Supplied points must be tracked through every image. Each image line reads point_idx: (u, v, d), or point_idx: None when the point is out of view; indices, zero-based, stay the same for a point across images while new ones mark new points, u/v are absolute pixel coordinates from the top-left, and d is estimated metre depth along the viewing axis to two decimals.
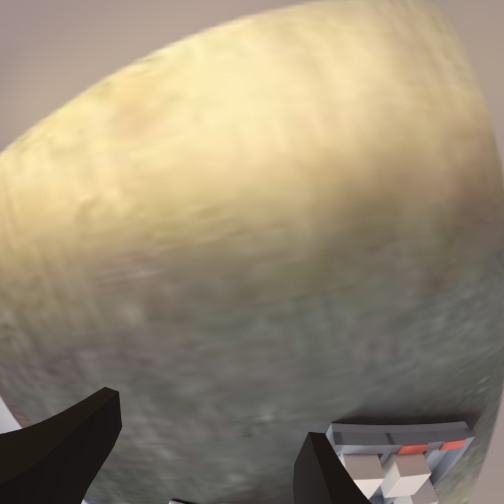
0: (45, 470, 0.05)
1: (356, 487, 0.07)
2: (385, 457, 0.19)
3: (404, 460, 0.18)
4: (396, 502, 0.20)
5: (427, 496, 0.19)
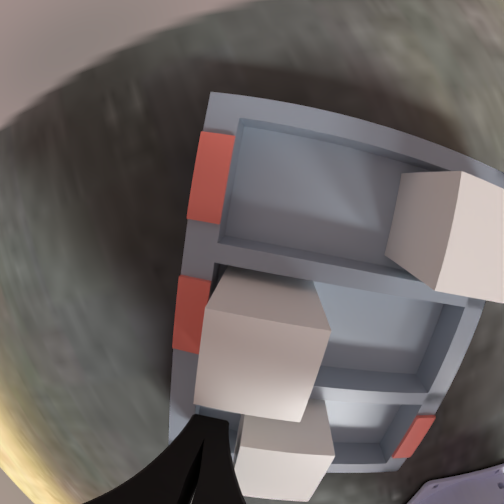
0: None
1: (233, 478, 0.07)
2: None
3: None
4: None
5: (435, 211, 0.07)
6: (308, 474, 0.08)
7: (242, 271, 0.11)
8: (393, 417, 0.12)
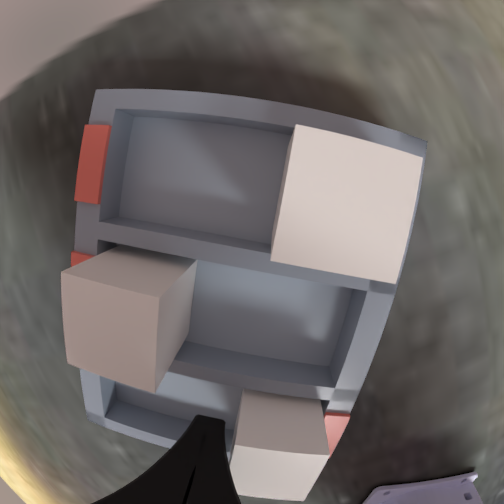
0: None
1: (228, 478, 0.07)
2: None
3: None
4: None
5: (285, 175, 0.07)
6: (303, 473, 0.08)
7: (129, 249, 0.11)
8: None
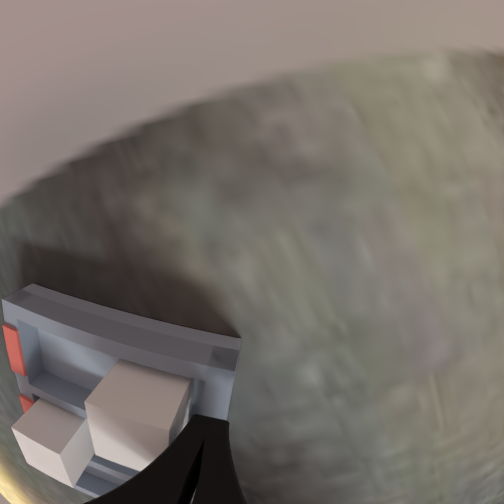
0: None
1: (233, 478, 0.07)
2: None
3: None
4: None
5: None
6: None
7: None
8: None
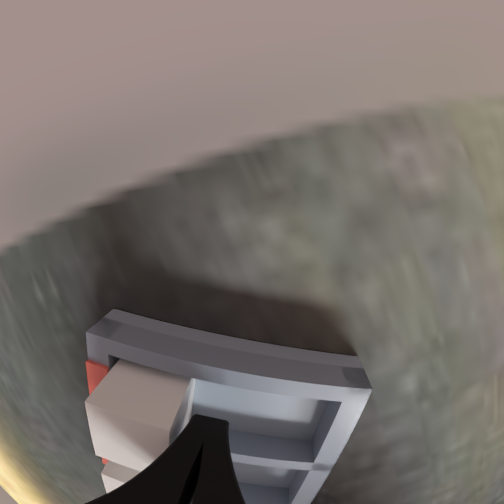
0: None
1: (232, 478, 0.07)
2: None
3: None
4: None
5: None
6: None
7: None
8: None
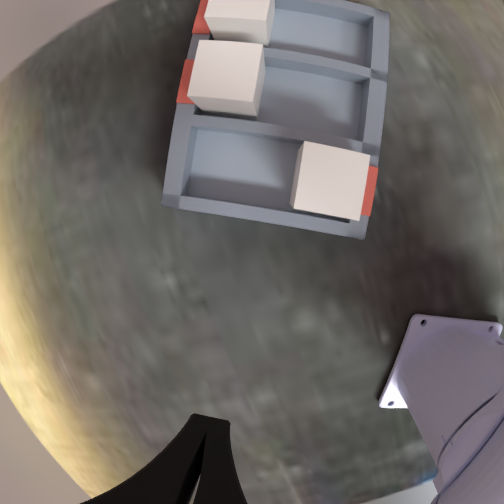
0: None
1: (234, 479, 0.07)
2: (202, 118, 0.15)
3: None
4: (257, 39, 0.14)
5: None
6: (355, 177, 0.13)
7: None
8: None
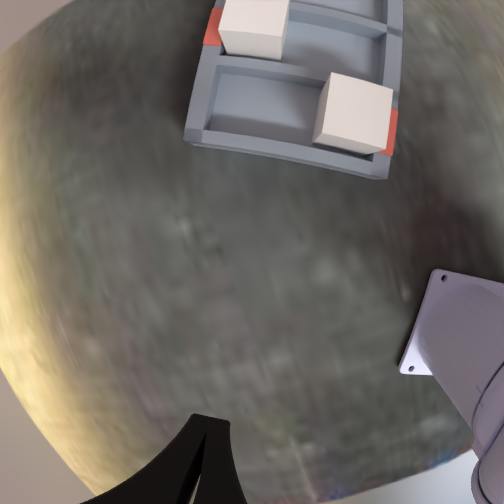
0: None
1: (234, 479, 0.07)
2: (228, 59, 0.14)
3: None
4: None
5: None
6: (379, 107, 0.12)
7: None
8: None
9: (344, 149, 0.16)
